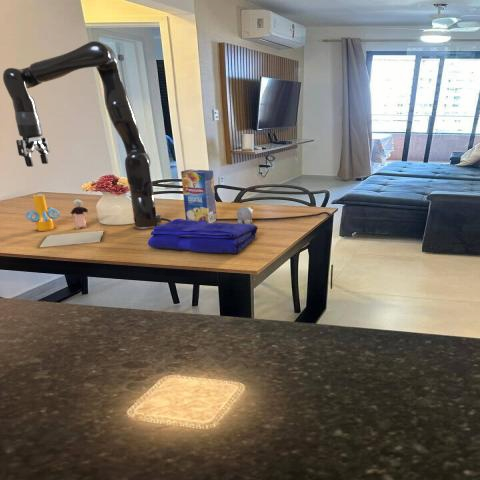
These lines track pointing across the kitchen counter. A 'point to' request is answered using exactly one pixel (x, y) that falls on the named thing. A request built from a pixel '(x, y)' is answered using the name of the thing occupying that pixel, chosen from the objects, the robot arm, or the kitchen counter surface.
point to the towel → (202, 236)
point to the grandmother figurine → (79, 214)
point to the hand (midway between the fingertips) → (37, 165)
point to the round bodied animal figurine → (245, 215)
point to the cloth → (72, 238)
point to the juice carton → (199, 195)
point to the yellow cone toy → (42, 214)
